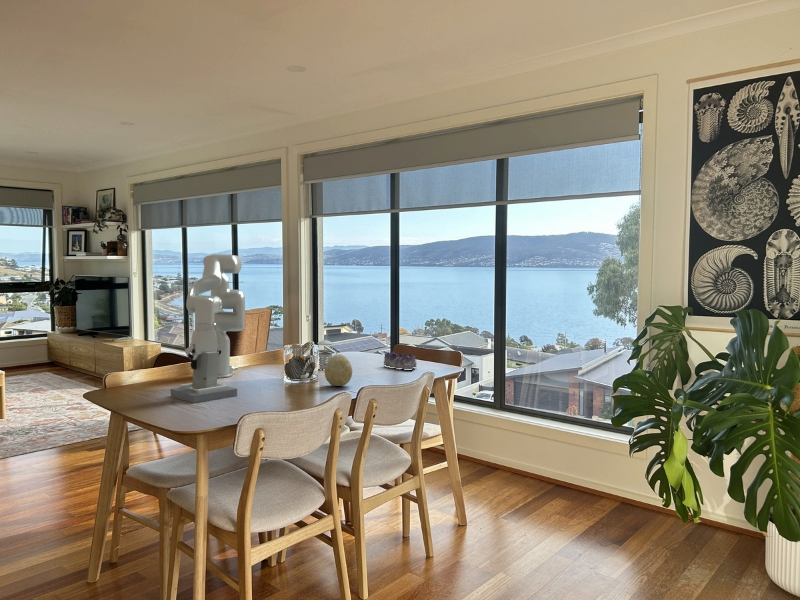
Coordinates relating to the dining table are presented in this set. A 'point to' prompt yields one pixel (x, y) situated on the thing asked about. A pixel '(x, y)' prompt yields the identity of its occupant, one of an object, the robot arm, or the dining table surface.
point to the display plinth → (202, 393)
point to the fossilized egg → (338, 370)
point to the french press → (325, 352)
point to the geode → (400, 360)
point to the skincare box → (206, 370)
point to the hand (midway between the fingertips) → (204, 367)
